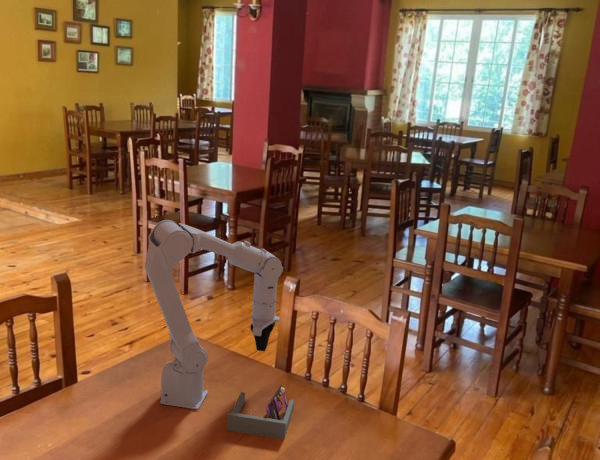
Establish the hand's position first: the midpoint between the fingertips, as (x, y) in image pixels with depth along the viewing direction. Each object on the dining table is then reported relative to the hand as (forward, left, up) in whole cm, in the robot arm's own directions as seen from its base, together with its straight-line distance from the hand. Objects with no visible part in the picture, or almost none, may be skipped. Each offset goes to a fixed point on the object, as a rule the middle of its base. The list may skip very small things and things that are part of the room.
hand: (261, 349), depth 145 cm
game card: (+7, -14, -10) cm, 19 cm away
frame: (+4, -15, -9) cm, 18 cm away
